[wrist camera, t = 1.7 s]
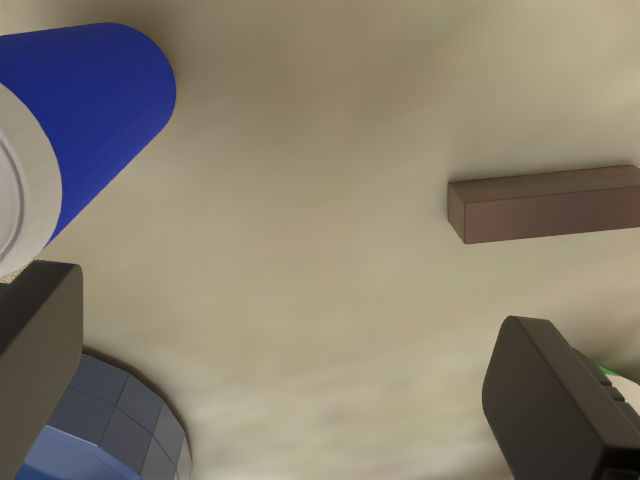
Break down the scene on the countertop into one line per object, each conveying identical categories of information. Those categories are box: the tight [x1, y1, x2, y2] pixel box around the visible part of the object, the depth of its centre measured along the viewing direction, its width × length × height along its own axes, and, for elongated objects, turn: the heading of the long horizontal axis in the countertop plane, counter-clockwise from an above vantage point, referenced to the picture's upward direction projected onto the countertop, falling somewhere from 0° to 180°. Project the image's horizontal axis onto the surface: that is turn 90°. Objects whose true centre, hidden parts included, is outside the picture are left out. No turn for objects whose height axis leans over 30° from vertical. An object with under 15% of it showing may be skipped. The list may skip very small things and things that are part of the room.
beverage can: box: [0, 23, 176, 277], centre depth 18 cm, size 5×5×15 cm
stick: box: [448, 165, 640, 244], centre depth 27 cm, size 9×2×3 cm, turn 95°
